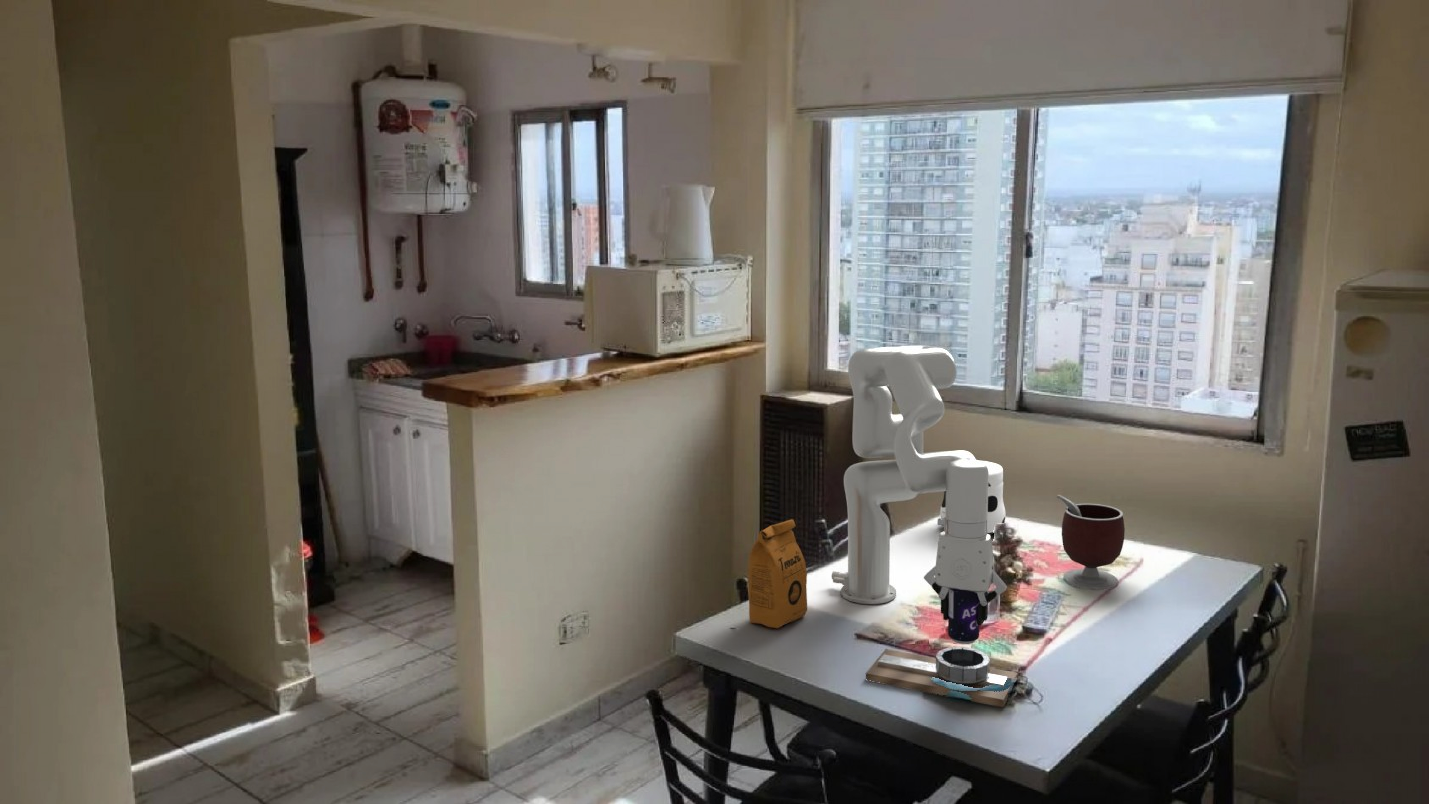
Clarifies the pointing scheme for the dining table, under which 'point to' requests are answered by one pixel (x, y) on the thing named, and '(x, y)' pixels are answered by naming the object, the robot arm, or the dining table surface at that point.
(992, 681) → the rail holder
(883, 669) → the mount board
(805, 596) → the coffee package
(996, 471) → the milk container
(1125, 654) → the dining table surface
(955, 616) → the beverage can
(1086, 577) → the mate gourd
